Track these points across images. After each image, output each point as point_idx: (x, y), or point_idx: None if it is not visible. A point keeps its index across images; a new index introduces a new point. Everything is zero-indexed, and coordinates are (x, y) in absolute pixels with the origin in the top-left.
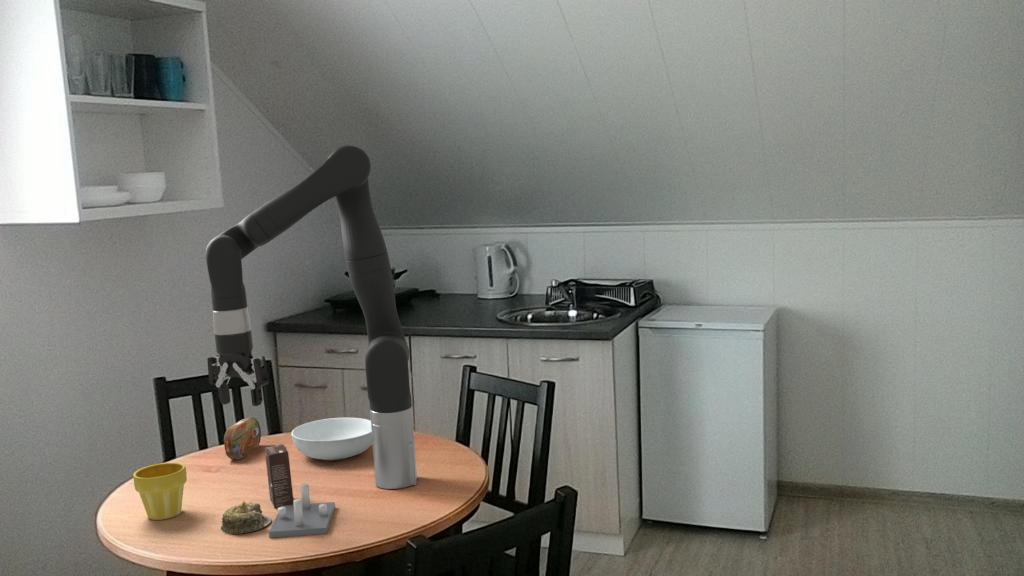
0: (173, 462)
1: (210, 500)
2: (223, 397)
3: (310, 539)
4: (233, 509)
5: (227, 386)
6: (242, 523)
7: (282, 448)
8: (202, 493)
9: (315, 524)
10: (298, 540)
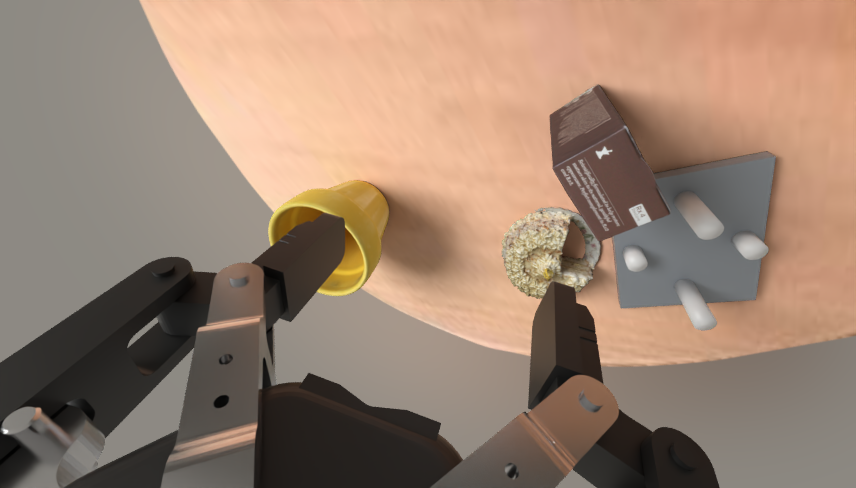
0: (303, 203)
1: (399, 129)
2: (324, 277)
3: (711, 310)
4: (521, 264)
5: (286, 281)
6: None
7: (638, 184)
8: (352, 85)
9: (725, 284)
10: (684, 312)
